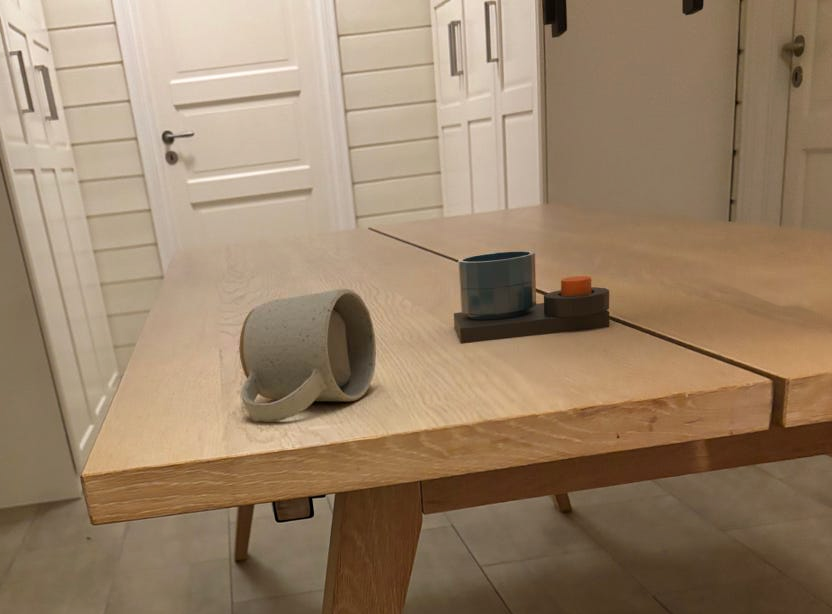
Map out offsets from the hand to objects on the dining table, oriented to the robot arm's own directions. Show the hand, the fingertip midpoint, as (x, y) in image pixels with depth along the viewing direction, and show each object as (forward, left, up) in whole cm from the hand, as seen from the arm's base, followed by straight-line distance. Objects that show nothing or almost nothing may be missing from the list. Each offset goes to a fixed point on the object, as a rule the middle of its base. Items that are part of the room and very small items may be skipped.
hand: (625, 23), depth 71 cm
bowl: (+9, -10, -21) cm, 25 cm away
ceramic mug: (+26, +13, -23) cm, 37 cm away
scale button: (+3, -6, -20) cm, 21 cm away
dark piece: (+7, -9, -22) cm, 25 cm away
